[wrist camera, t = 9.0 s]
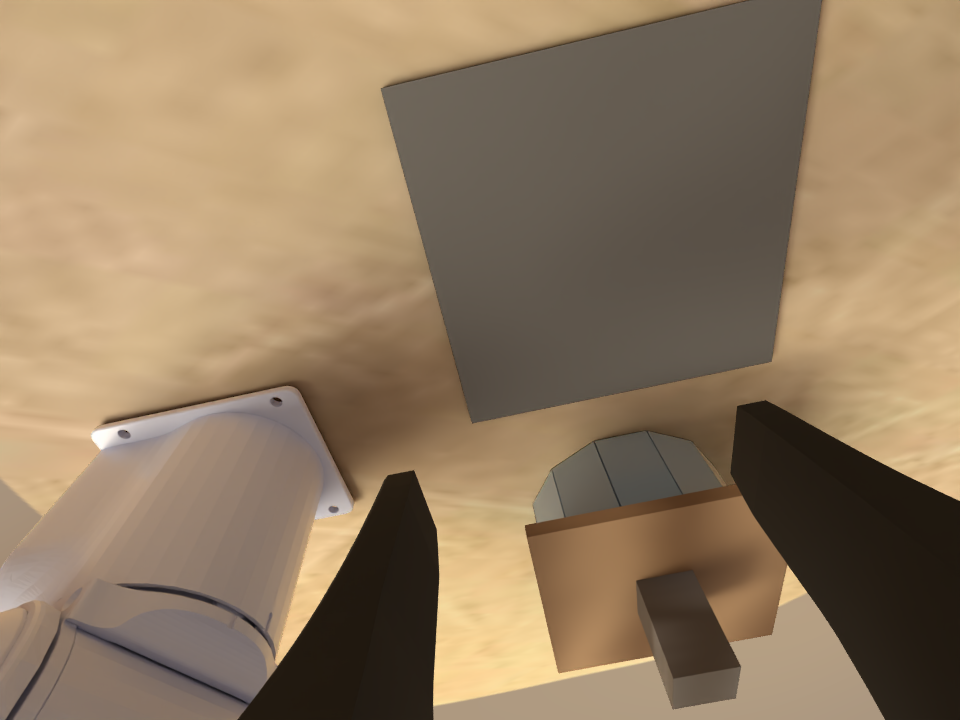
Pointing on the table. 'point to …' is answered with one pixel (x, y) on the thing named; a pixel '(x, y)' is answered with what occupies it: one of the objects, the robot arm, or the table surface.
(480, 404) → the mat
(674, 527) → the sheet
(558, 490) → the bowl
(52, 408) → the table surface
